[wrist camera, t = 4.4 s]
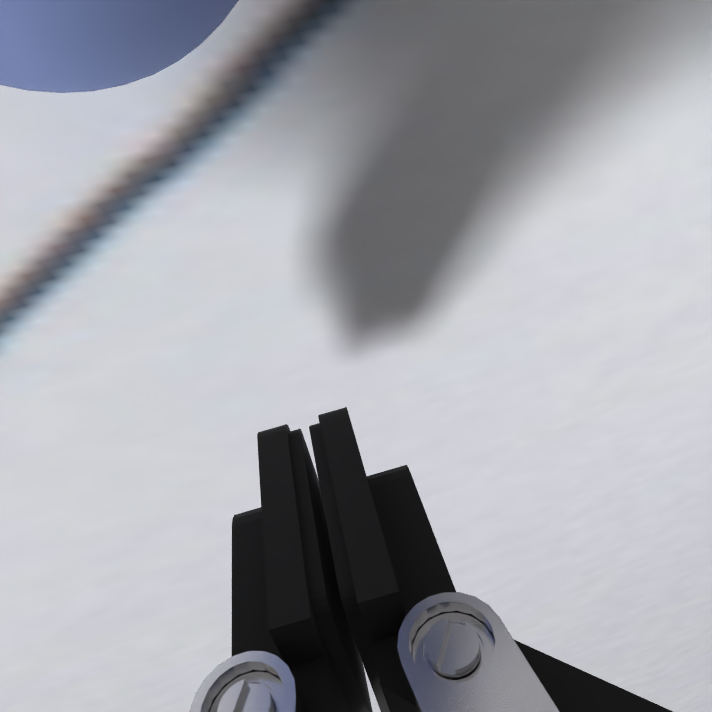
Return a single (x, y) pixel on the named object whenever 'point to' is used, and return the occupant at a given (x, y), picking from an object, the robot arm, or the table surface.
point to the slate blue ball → (99, 40)
